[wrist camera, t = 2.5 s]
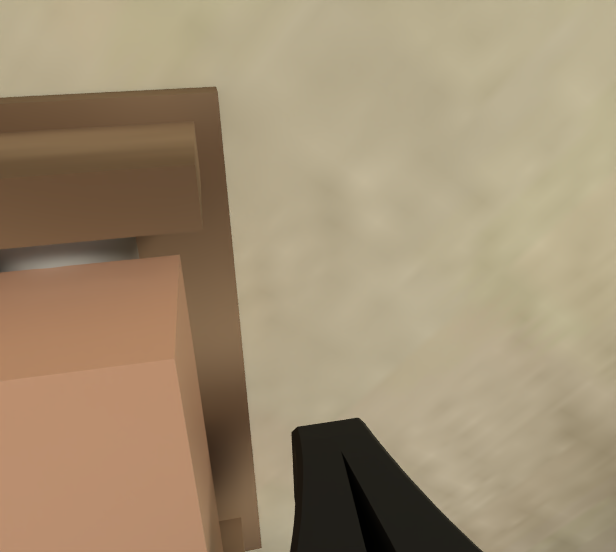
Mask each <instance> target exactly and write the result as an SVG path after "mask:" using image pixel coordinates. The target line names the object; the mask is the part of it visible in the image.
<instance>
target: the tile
mask: <svg viewBox="0 0 616 552" xmlns="http://www.w3.org/2000/svg"><path fill="white" fill-rule="evenodd" d="M0 552H223V546H222V539H221V532H220V526H219V519H218V512H217V505H216V498H215V492H214V485H213V478H212V471H211V464H210V457H209V451H208V444H207V437H206V430H205V423H204V417H203V410H202V403H201V396H200V389H199V383H198V376H197V369H196V362H195V355H194V349H193V342H192V335H191V328H190V321H189V315H188V308H187V301H186V294H185V287H184V281H183V274H182V267H181V260H180V255H171V256H161V257H151V258H141V259H131V260H121V261H111V262H100V263H90V264H80V265H70V266H62V267H54V268H44V269H30V270H20V271H10V272H0Z"/></svg>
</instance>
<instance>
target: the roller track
mask: <svg viewBox="0 0 616 552" xmlns="http://www.w3.org/2000/svg"><path fill="white" fill-rule="evenodd" d="M171 255H180V260H181V267H182V274H183V281H184V287H185V294H186V301H187V308H188V315H189V321H190V328H191V335H192V342H193V349H194V355H195V362H196V369H197V376H198V383H199V389H200V396H201V403H202V410H203V417H204V423H205V430H206V437H207V444H208V451H209V457H210V464H211V471H212V478H213V485H214V492H215V498H216V505H217V512H218V519H219V526H220V532H221V539H222V546H223V552H245V551H249V550H254V549H259V548H262V547H261V537H260V527H259V516H258V506H257V495H256V485H255V475H254V464H253V454H252V444H251V433H250V423H249V413H248V402H247V392H246V381H245V371H244V361H243V350H242V340H241V330H240V319H239V309H238V299H237V288H236V278H235V267H234V257H233V247H232V236H231V226H230V216H229V205H228V195H227V185H226V174H225V164H224V154H223V143H222V133H221V122H220V112H219V102H218V92H217V89H216V87H203V88H183V89H164V90H144V91H124V92H105V93H85V94H65V95H46V96H26V97H6V98H0V272H10V271H20V270H30V269H44V268H54V267H62V266H70V265H80V264H90V263H100V262H111V261H121V260H131V259H141V258H151V257H161V256H171Z"/></svg>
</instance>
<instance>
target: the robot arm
mask: <svg viewBox="0 0 616 552" xmlns="http://www.w3.org/2000/svg"><path fill="white" fill-rule="evenodd" d="M292 453H293V476H294V498H295V516H294V527H293V535H292V543H291V550H290V552H483V551H482V550H480V549H479V548H478V547H477V546H476V545H475V544H474V543H473V542H472V541H471V540H470V539H469V538H468V537H467V536H466V535H465V534H464V533H462V532H461V531H460V530H459V529H458V528H457V527H456V526H455V525H454V524H453V523H452V522H451V521H450V520H449V519H448V518H447V517H446V516H445V515H444V514H443V513H442V512H441V511H440V510H439V509H438V508H437V507H436V506H435V505H434V504H433V502H432V501H431V500H430V499H429V498H428V497H427V496H426V495H425V494H424V493H423V492H422V491H421V490H420V489H419V487H418V486H417V485H416V484H415V483H414V482H413V481H412V480H411V479H410V478H409V477H408V475H407V474H406V473H405V472H404V471H403V470H402V469H401V467H400V466H399V465H398V464H397V463H396V462H395V460H394V459H393V458H392V457H391V456H390V455H389V453H388V452H387V451H386V450H385V449H384V447H383V446H382V445H381V444H380V442H379V441H378V440H377V439H376V437H375V436H374V435H373V434H372V432H371V431H370V430H369V428H368V427H367V426H366V424H365V423H364V422H363V421H362V420H361V419H359V418H353V419H346V420H340V421H333V422H327V423H320V424H313V425H307V426H300V427H297V428H296V429H295V430H294V431H292Z"/></svg>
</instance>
